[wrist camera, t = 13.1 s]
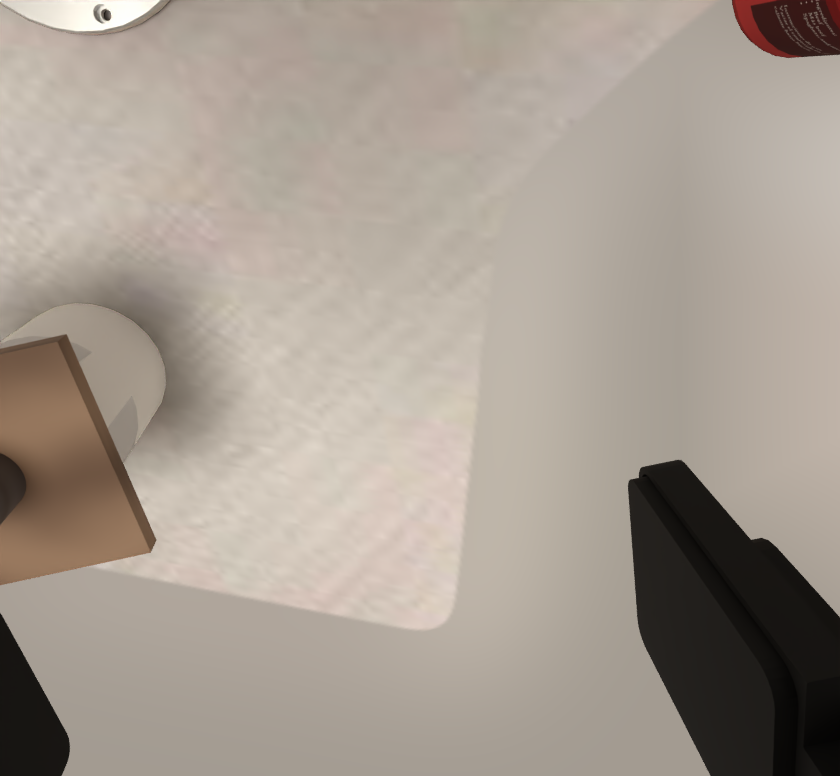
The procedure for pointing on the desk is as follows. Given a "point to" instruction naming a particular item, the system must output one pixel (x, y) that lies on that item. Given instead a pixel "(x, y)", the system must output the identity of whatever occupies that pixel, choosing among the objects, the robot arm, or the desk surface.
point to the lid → (59, 470)
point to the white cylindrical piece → (107, 364)
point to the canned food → (791, 26)
